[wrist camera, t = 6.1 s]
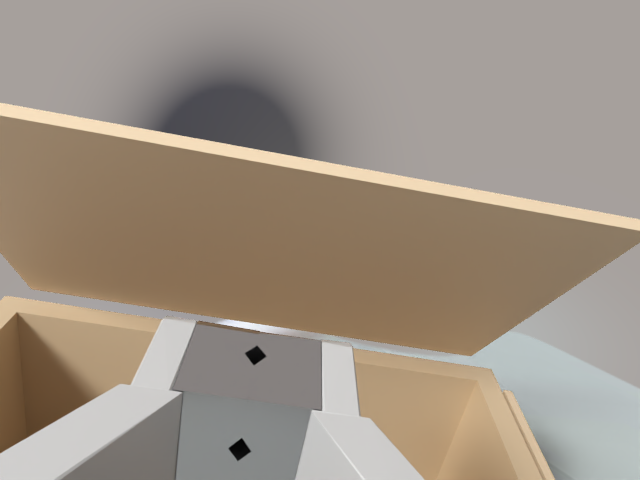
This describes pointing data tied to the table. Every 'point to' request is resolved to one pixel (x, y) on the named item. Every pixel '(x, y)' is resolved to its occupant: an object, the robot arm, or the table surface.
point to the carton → (371, 372)
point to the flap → (283, 236)
